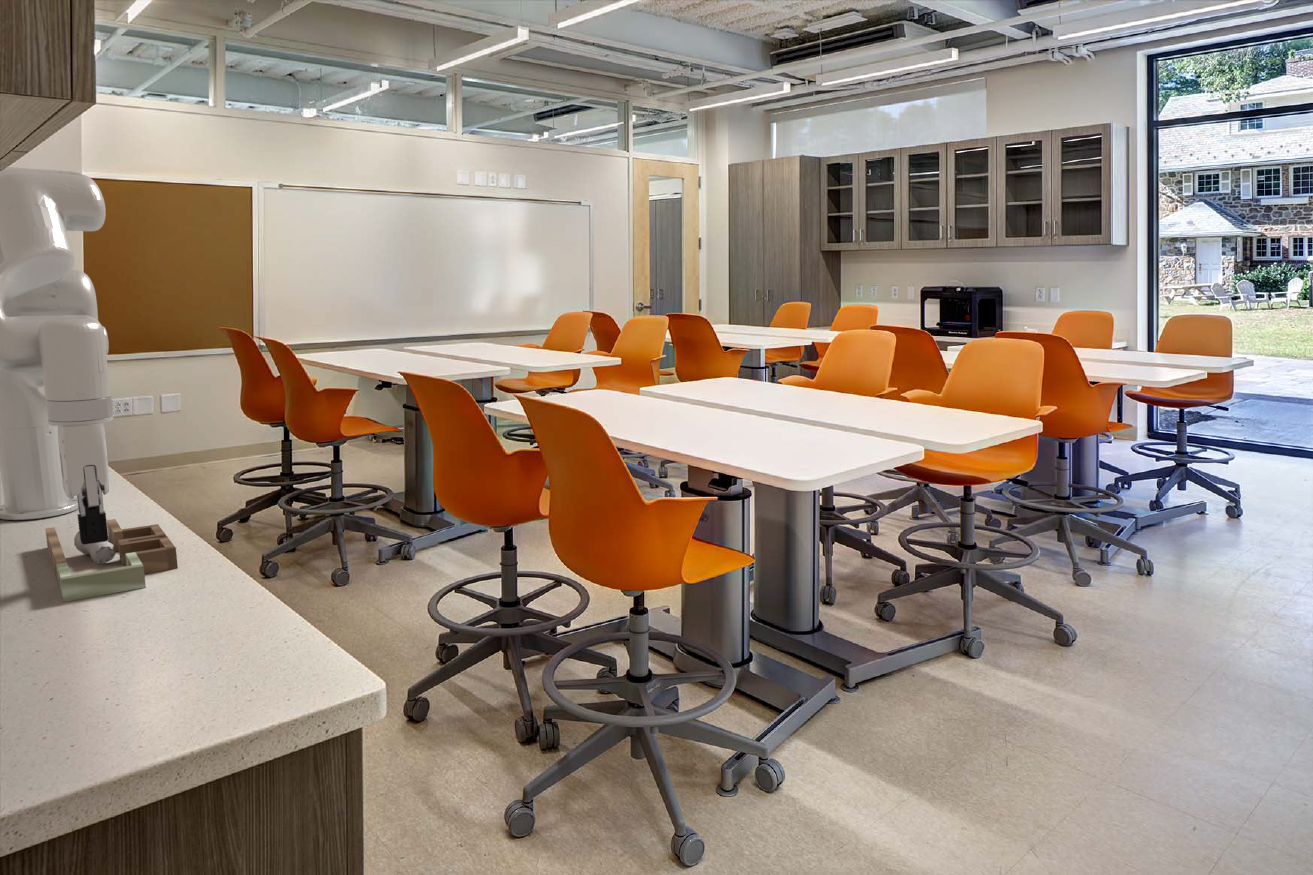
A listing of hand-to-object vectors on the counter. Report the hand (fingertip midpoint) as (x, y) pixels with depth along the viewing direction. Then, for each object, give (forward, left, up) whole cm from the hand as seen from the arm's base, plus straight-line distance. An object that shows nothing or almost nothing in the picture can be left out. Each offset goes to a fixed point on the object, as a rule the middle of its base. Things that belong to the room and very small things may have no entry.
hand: (94, 541), depth 129 cm
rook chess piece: (-12, -6, -3) cm, 14 cm away
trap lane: (-6, -1, -5) cm, 8 cm away
